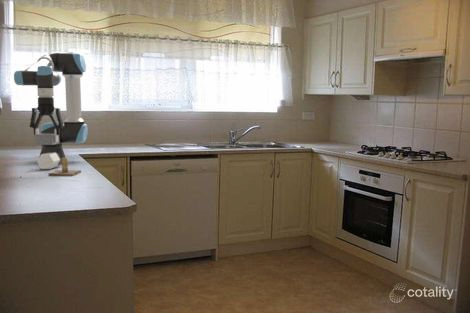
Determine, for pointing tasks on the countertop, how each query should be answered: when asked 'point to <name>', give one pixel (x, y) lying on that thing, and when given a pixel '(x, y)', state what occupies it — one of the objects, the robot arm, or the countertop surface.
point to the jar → (49, 160)
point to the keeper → (64, 170)
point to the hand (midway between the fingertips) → (47, 141)
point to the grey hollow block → (45, 139)
